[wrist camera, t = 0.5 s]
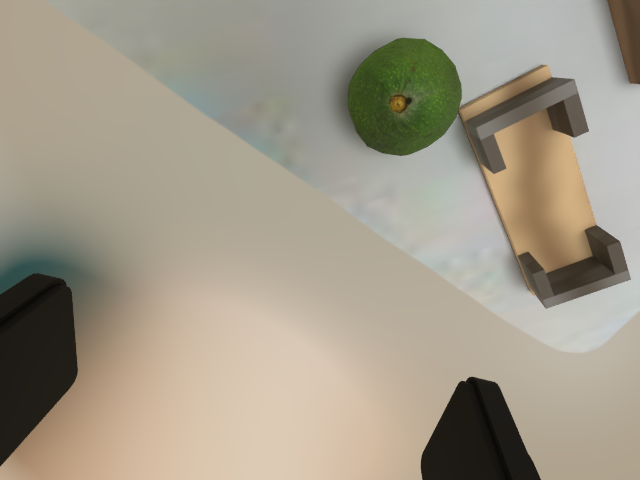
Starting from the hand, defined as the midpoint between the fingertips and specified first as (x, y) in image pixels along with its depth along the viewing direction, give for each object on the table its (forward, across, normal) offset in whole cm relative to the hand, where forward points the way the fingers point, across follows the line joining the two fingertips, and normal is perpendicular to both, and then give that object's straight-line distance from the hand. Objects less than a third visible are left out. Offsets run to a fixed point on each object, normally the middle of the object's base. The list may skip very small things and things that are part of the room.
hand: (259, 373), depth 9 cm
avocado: (+29, -4, -5) cm, 29 cm away
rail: (+28, -19, 0) cm, 34 cm away
